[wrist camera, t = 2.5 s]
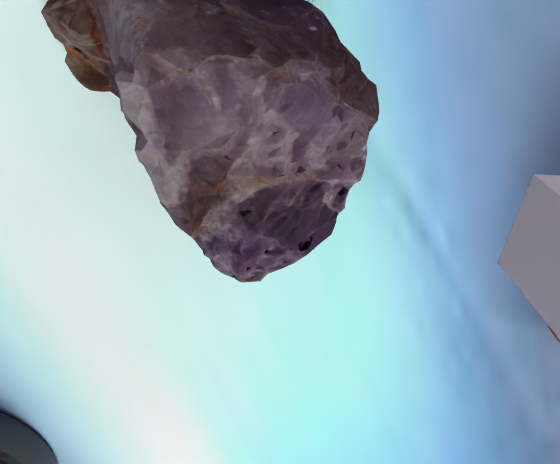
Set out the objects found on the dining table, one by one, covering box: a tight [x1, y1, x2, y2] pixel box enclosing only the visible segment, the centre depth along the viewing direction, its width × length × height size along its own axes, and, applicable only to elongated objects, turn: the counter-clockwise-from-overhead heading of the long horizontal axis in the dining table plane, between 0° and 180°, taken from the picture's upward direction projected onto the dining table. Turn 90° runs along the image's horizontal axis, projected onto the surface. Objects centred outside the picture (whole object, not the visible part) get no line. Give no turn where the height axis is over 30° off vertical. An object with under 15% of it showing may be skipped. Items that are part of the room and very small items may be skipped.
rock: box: [41, 0, 379, 282], centre depth 19 cm, size 12×9×10 cm
